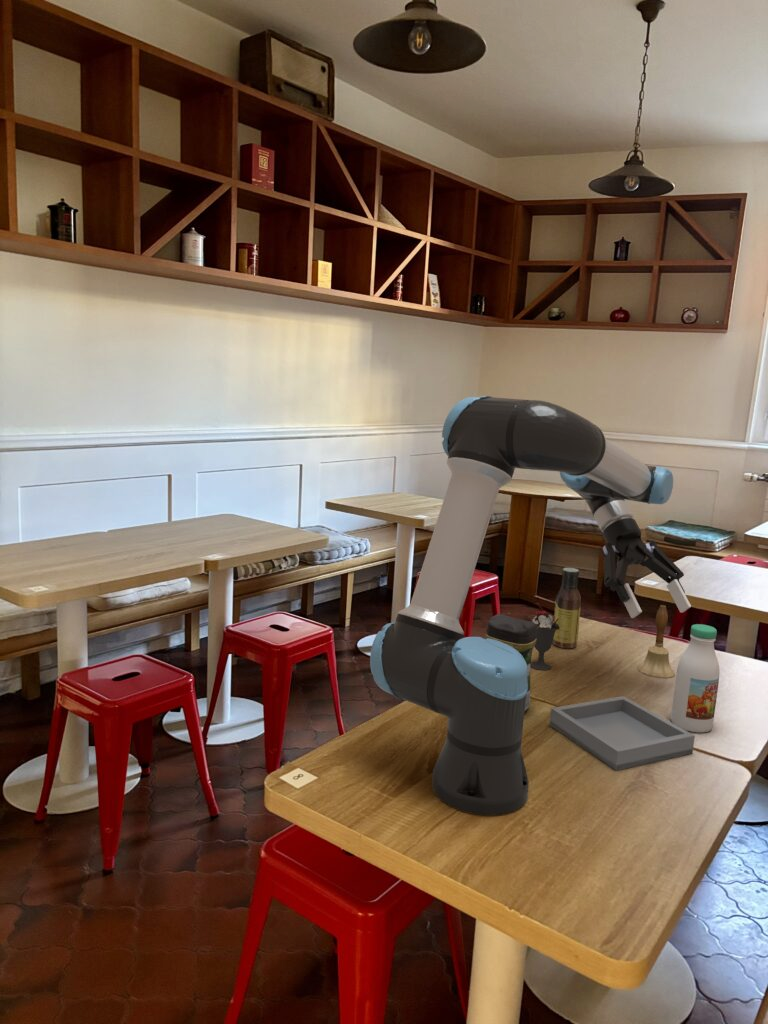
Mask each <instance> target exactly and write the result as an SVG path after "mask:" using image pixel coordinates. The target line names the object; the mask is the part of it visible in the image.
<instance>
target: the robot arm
mask: <svg viewBox="0 0 768 1024" xmlns="http://www.w3.org/2000/svg"><path fill="white" fill-rule="evenodd" d="M442 426H443V428H442V432H441V437H442V438H443V440H442V441H441V445H442V448H443V451H444V453H445V454H446V456H447V459H446V464H447V466H448V468H449V470H450V472H451V475H450V478H449V481H448V485H447V489H446V491H445V495H444V497H443V501H442V504H441V507H440V510H439V514H438V517H437V520H436V522H435V526H434V530H433V532H432V536H431V539H430V541H429V544H428V547H427V550H426V554H425V556H424V560H423V563H422V566H421V570H420V572H419V576H418V579H417V581H416V582H417V583H416V584H415V585H416V586H415V588H414V592H413V595H412V597H411V601H410V604H409V605H407V606H406V607H404V608H403V609H401V610H399V611H398V612H397V615H396V618H395V621H393V622H390V623H386V624H385V625H383V626H382V627H381V630H379V631H377V634H376V635H375V637H374V639H373V641H372V645H371V649H370V654H369V655H370V657H369V664H370V665H369V666H370V671H371V674H372V675H373V676H372V677H373V680H374V682H375V684H376V685H377V687H379V689H381V690H382V691H383V692H385V693H388V694H390V695H392V696H393V697H394V698H396V699H398V700H402V701H407V702H408V703H411V704H414V705H416V706H418V707H422V708H424V709H427V710H428V711H432V712H434V713H437V714H439V715H442V716H445V717H446V718H447V725H446V738H445V741H444V743H443V746H442V749H441V751H440V753H439V756H438V758H437V760H436V763H435V764H434V766H433V769H432V777H431V779H432V780H431V787H432V788H431V789H432V790H433V792H434V794H435V795H436V797H438V799H440V800H441V801H442V802H444V803H445V804H447V805H448V806H449V807H452V808H454V809H456V810H459V811H462V812H465V813H469V814H475V815H480V816H500V815H506V814H509V813H513V812H516V811H517V810H519V809H520V808H522V807H523V806H524V805H526V803H527V800H528V796H529V787H530V783H529V777H528V773H527V768H526V764H525V759H524V756H523V753H522V752H523V751H522V739H523V738H522V737H523V730H524V720H525V712H526V711H525V702H526V693H527V691H528V682H527V664H526V662H525V660H524V658H523V656H522V655H521V654H520V653H519V652H518V651H517V650H515V649H514V648H512V647H511V646H509V645H507V644H505V643H502V642H500V641H497V640H493V639H489V638H487V639H486V638H483V637H481V636H467V637H464V635H465V632H464V630H463V628H462V626H461V624H460V618H461V615H462V612H463V611H462V610H463V609H464V604H465V601H466V598H467V595H468V592H469V588H470V585H471V581H472V579H473V575H474V573H475V569H476V566H477V562H478V560H479V556H480V553H481V549H482V546H483V543H484V539H485V537H486V534H487V530H488V527H489V523H490V520H491V517H492V514H493V511H494V507H495V504H496V501H497V498H498V495H499V491H500V489H501V488H502V487H504V486H506V485H508V484H509V483H511V482H512V478H513V475H514V473H515V470H516V469H521V470H522V469H523V470H530V471H544V472H545V471H547V472H559V476H560V478H561V481H563V483H564V484H565V485H566V487H568V488H569V489H570V490H572V491H573V492H575V493H576V494H577V495H579V496H580V497H581V498H582V499H583V500H584V501H585V502H586V504H587V505H588V508H589V509H590V512H591V513H592V515H593V516H592V517H593V518H594V519H595V522H596V524H597V526H598V528H599V530H600V532H602V536H603V539H604V540H605V543H606V544H605V545H604V546H603V547H602V548H601V549H600V552H601V555H602V558H603V585H604V586H605V587H606V588H609V589H610V591H612V592H615V591H616V594H617V595H618V597H619V600H620V601H621V603H623V604H624V607H626V610H627V613H628V615H629V617H630V618H631V619H634V618H636V617H637V616H639V615H640V614H641V613H642V612H643V610H642V609H641V607H640V604H639V603H638V600H637V598H636V596H635V594H634V592H633V590H632V588H631V587H630V583H628V582H627V583H626V582H625V580H626V576H627V572H628V569H629V566H632V565H640V566H642V567H646V568H647V569H649V570H650V571H651V572H652V573H654V574H655V575H657V577H659V578H660V579H662V580H663V581H665V582H666V583H667V585H666V588H667V589H668V590H667V591H668V592H669V594H670V595H671V597H672V599H673V601H674V604H675V605H676V607H677V608H678V611H679V613H685V612H686V611H687V610H689V609H690V608H691V607H692V605H691V603H690V601H689V599H688V597H687V595H686V591H685V589H684V586H682V583H681V581H680V580H681V579H682V578H683V577H684V576H685V575H684V574H685V573H684V572H683V570H681V569H680V568H679V566H677V565H676V564H675V563H674V562H673V561H672V560H671V559H670V558H669V557H668V556H667V555H666V554H665V553H664V551H662V550H661V549H660V547H659V545H658V544H657V543H656V541H654V540H652V539H651V541H649V542H647V543H645V542H644V541H643V539H642V531H641V528H640V527H639V524H638V523H637V521H636V520H635V519H634V515H633V513H632V511H631V510H630V507H629V506H628V504H627V502H626V501H632V502H639V503H644V504H647V505H650V504H652V505H664V504H665V503H667V502H668V501H669V500H670V498H671V495H672V492H673V488H674V475H673V473H672V471H671V469H669V468H666V467H661V466H659V465H656V466H653V465H647V463H644V462H642V461H641V460H640V459H638V458H636V456H633V455H632V454H630V453H629V452H627V451H625V450H624V449H623V448H621V447H619V446H618V445H616V444H615V443H613V442H612V441H610V440H608V439H606V436H605V434H604V432H603V431H602V429H601V428H599V426H597V425H596V424H594V423H593V422H592V421H590V420H589V419H587V418H584V417H583V416H581V415H580V414H578V413H576V412H574V411H572V410H569V409H567V408H565V407H563V406H561V405H558V404H555V403H552V402H549V401H546V400H545V401H544V400H539V399H522V398H521V399H519V398H509V397H508V398H505V397H494V396H491V395H481V396H468V397H465V398H464V399H462V400H460V401H458V402H456V404H454V406H453V407H452V408H451V410H450V411H449V413H448V414H447V416H446V418H445V420H444V423H443V425H442ZM616 556H617V561H616Z"/></svg>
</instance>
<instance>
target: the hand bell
mask: <svg viewBox="0 0 768 1024" xmlns="http://www.w3.org/2000/svg"><path fill="white" fill-rule="evenodd" d="M668 619H669V614H668V610H667V606H666V605H665V604H660V605H659V607H658V610H657V612H656V615H655V628H656V636H655V644H654V645H653V646H650V647H648V649H647V653H646V656H645V659H644V660H643V661H642V662H640V663H639V664H638V665H637V667H636V668H637V671H639V672H640V673H641V674H642V675H645V676H649V677H652V678H658V679H670V678H673V677H675V676H676V673H675V670H674V669H673V668H672V666H671V663H670V656H669V655H670V654H669V653H670V652H669V650H668V649H667V648H665V647H664V637H665V635H664V634H665V630H666V628H667V624H668V621H669V620H668Z"/></svg>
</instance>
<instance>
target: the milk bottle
mask: <svg viewBox="0 0 768 1024" xmlns="http://www.w3.org/2000/svg"><path fill="white" fill-rule="evenodd" d="M717 634H718V631H717V629H716V628H715V627H714V626H711V625H707V624H702V623H700V624H699V623H696V624H692V625H691V627H690V635H689V637H690V642H689V643H688V646H687V647H686V649H685V650H684V652H683V653H682V654H681V656H680V658H679V661H678V664H677V669H676V673H675V681H674V688H673V695H672V703H671V711H670V722H671V723H673V724H675V725H677V726H678V727H680V728H682V729H684V730H686V731H688V732H690V733H691V732H692V733H698V734H700V733H708V732H710V731H711V730H712V728H713V725H714V721H715V720H714V719H715V712H716V706H717V705H716V704H717V697H718V691H719V682H720V663H719V661H718V657H717V655H716V652H715V644H714V643H715V642H716V641H717V640H716V638H717Z"/></svg>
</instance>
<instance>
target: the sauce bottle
mask: <svg viewBox="0 0 768 1024" xmlns="http://www.w3.org/2000/svg"><path fill="white" fill-rule="evenodd" d="M561 574H562V579H561V586H560V588H559V589H558V593H557V594H556V596H555V601H554V614H553V622H555V621H556V620H557V619H558V621H557V622H556V623H557V624H558V625H559V628H560V629H558V630H556V631H555V634H554V638H553V643H552V645H554V646H555V647H558V648H561V649H565V648H566V649H567V650H568V649H574V648H576V647H577V644H578V642H577V641H578V640H579V629H580V619H581V617H580V616H581V602H582V597H581V596H582V595H581V594H580V591H579V589H578V579H579V576H580V570H579V569H577V568H574V567H564V568H562V572H561ZM566 649H565V650H566Z"/></svg>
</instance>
